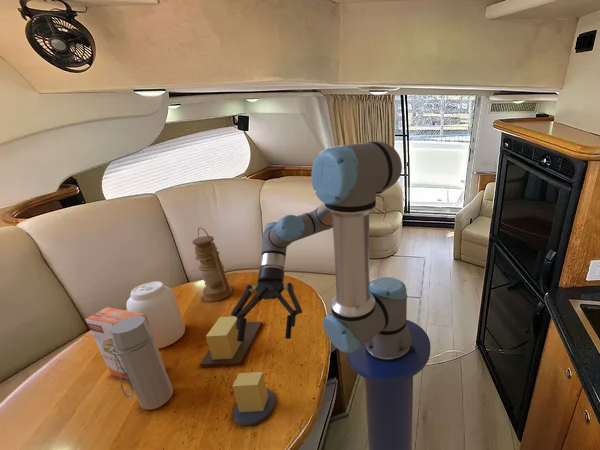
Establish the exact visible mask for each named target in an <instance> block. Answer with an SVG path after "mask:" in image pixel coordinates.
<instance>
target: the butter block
mask: <svg viewBox="0 0 600 450" xmlns="http://www.w3.org/2000/svg"><path fill="white" fill-rule="evenodd" d="M236 323H237V317H235V316H232V315H230V316H220V317H218V319H217V320H216V322H215V323H214V324H213V325H212V327H211V328H210V330H209V331H208V332H207V334H206V335H205V338H206V342H207V345H208V349H209V350H210V353H211V356H212V360H215V359H233V357H234V355H235V353H236V352H237V350H238V348H239V346H240V344H241V343H242V342H240V341H237V337H238V329H236Z"/></svg>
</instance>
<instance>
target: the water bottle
mask: <svg viewBox="0 0 600 450" xmlns="http://www.w3.org/2000/svg"><path fill="white" fill-rule="evenodd" d="M110 332H111V336H112V340H113V343H114V346H113V347H112V348H110V351H111V352H112V353H113V355H114V356H116V355H117V354H119V356H120V358H121V361H122V363H123V365H124V368H125V370H126V372H127V375H128V377H129V379H130V380H128V378H127V376H126V374H125V372H124V370H123V368H122V366H121V364H120V362H119V360H118V358H117V356H116V357H115V361H116V358H117V360H118V363H119V365H120V367H121V369H122V371H123V373H124V375H125V377H126V379H125V380H126V382H127V384H128V386H129V388H130V390H131V393H129V394H128V393H127V392H126V391H125V390H124V387H123V383H122V378H120V374H119V370H118V365H117V361H116V365H117V370H118V374H119V377H118V379H119V383H120V387H121V392H122V393H123V395H124V397H126V398H127V399H128V398H131V397H133V394H135V396H136V398H137V400H138V403H139V405H140V407H141V408H142V409H143V410H151V411H152V410H155V409H158V408H161V407H162V406H163V405H166V403H168V402H169V400H170V399H171V398H172V396H173V393H174V388H173V386H172V384H171V379H170V378H169V375H168V373H167V368H166V366H164V365H165V363H164V360H163V358H161V357H162V355H161V352H160V349H159V350H158V347H157V344H156V342H155V339H154V336H153V333H152V330H151V329H150V327H149V325H148V324H147V322H146V320H145V318H144V317H143V316H133V317H128V318H126V319H123V320H121V321H119V322H117V323H116V324H114V325H113V326H112V328H111V329H110ZM114 347H116V349H117V351H118V353H116V351H115V349H114ZM159 352H160V353H159ZM162 360H163V361H162ZM163 363H164V364H163ZM165 368H166V369H165Z"/></svg>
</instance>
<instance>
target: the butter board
mask: <svg viewBox="0 0 600 450" xmlns="http://www.w3.org/2000/svg"><path fill="white" fill-rule="evenodd" d="M262 325H263V322H262V321H246V327H245V334H244V341H243V342H242V343H241V344H240V346H239V348H238V350H237V352H236V353H235V355H234V357H233V359H215V360H212V356H211V353H210V349H209V350H208V351H207V352H206V354H205V356H204V357H203V359H202V360H201V362H200V363H199V366H200V368H208V367H227V366H241V365H243V363H244V361H245V359H246V357H247V354H248V353H249V351H250V349H251V347H252V345H253V343H254V341H255V338H256V337H257V335H258V334H259V331H260V329H261V328H262Z"/></svg>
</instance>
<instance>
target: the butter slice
mask: <svg viewBox="0 0 600 450" xmlns="http://www.w3.org/2000/svg"><path fill="white" fill-rule="evenodd" d="M231 387H232V390H233V391H232V392H233V394H234V398H235V402H236V403H237V406H238V410H239V412H252V411H263V410H264V407H265V405H266V402H267V399H268V394H267V390H268V389H267V384H266V381H265V375H264V371H254V372H253V371H251V372H239V373H238V374H237V376H236V378H235V380H234V382H233V384H232V386H231Z"/></svg>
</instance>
